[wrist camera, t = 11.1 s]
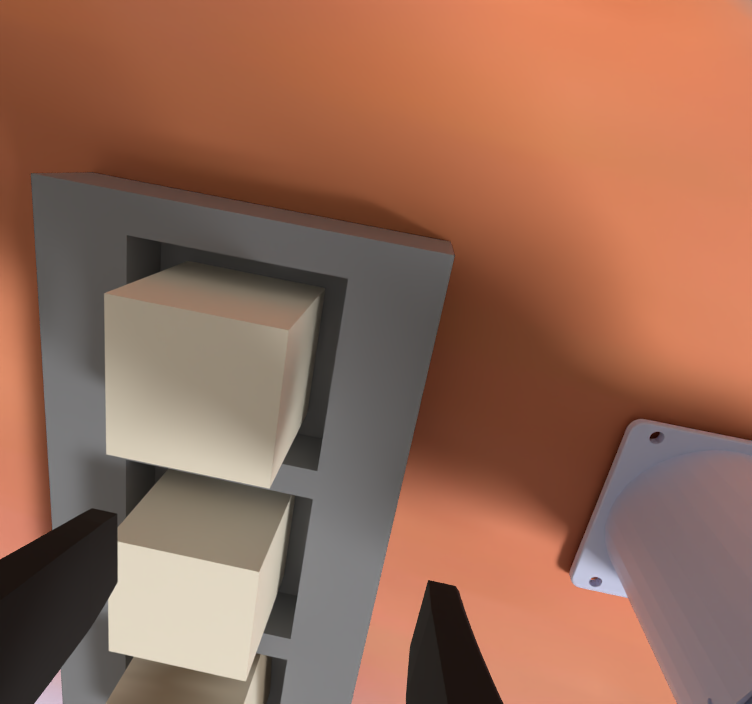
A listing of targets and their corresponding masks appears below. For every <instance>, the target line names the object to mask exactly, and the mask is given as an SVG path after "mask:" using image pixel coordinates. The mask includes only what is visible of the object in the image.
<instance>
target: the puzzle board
mask: <svg viewBox="0 0 752 704" xmlns="http://www.w3.org/2000/svg"><path fill="white" fill-rule="evenodd" d="M31 185H32V201H33V218H34V234H35V251H36V267H37V284H38V301H39V317H40V334H41V350H42V367H43V383H44V400H45V416H46V433H47V449H48V466H49V482H50V499H51V516H52V530H54V529H55V528H57V527H59V526H61V525H62V524H64V523H66V522H68V521H69V520H71V519H73V518H75V517H76V516H78V515H80V514H82V513H84V512H85V511H87V510H89V509H91V508H94V509H98V510H103V511H108V512H112V513H117V523H118V583H117V585H116V586H115V588H114V590H113V592H112V593H111V595H110V597H109V599H108V600H107V602H106V604H105V606H104V607H103V609H102V611H101V612H100V614H99V615H98V617H97V619H96V620H95V622H94V624H93V625H92V627H91V628H90V630H89V631H88V632H87V634H86V635H85V637H84V638H83V639H82V641H81V642H80V643H79V645H78V646H77V647H76V649H75V650H74V651H73V653H72V654H71V655H70V657H69V658H68V659H67V661H66V662H65V663H64V665H63V666H62V667H61V681H62V698H63V704H105V703H106V702H107V700H108V698H109V697H110V695H111V694H112V692H113V690H114V689H115V687H116V685H117V684H118V682H119V680H120V679H121V677H122V675H123V674H124V672H125V670H126V669H127V667H128V665H129V664H130V662H131V660H132V659H133V657H138V658H143V659H147V660H152V661H156V662H161V663H165V664H170V665H174V666H179V667H183V668H188V669H192V670H196V671H201V672H205V673H210V674H214V675H219V676H223V677H228V678H232V679H237V680H241V681H246V680H247V677H248V674H249V671H250V669H251V666H252V663H253V660H254V657H255V655H256V653H258V654H262V655H267V656H271V657H272V665H271V683H270V693H269V697H268V700H267V703H266V704H351V702H352V698H353V693H354V689H355V685H356V680H357V676H358V672H359V667H360V663H361V659H362V655H363V650H364V646H365V642H366V637H367V633H368V629H369V624H370V620H371V616H372V611H373V607H374V603H375V598H376V594H377V590H378V585H379V581H380V577H381V572H382V568H383V564H384V559H385V555H386V551H387V546H388V542H389V538H390V533H391V529H392V525H393V520H394V516H395V512H396V508H397V503H398V499H399V495H400V490H401V486H402V482H403V477H404V473H405V469H406V464H407V460H408V456H409V451H410V447H411V443H412V438H413V434H414V430H415V425H416V421H417V417H418V412H419V408H420V404H421V399H422V395H423V391H424V386H425V382H426V378H427V373H428V369H429V365H430V360H431V356H432V352H433V347H434V343H435V339H436V335H437V330H438V326H439V322H440V317H441V313H442V309H443V304H444V300H445V296H446V291H447V287H448V283H449V278H450V274H451V270H452V265H453V261H454V257H455V254H454V251H453V248H452V244H451V242H450V241H445V240H440V239H434V238H429V237H424V236H419V235H414V234H408V233H403V232H398V231H393V230H388V229H383V228H377V227H372V226H367V225H362V224H357V223H352V222H346V221H341V220H336V219H331V218H326V217H321V216H315V215H310V214H305V213H300V212H295V211H290V210H284V209H279V208H274V207H269V206H264V205H259V204H253V203H248V202H243V201H238V200H233V199H227V198H222V197H217V196H212V195H207V194H202V193H196V192H191V191H186V190H181V189H176V188H171V187H165V186H160V185H155V184H150V183H145V182H140V181H134V180H129V179H124V178H119V177H114V176H109V175H103V174H98V173H93V172H80V173H31Z"/></svg>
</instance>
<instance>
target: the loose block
mask: <svg viewBox="0 0 752 704" xmlns="http://www.w3.org/2000/svg"><path fill="white" fill-rule="evenodd" d="M271 665H272V657H271V656H267V655H262V654H258V653H256V655H255V657H254V660H253V663H252V666H251V669H250V671H249V674H248V677H247V680H246V681H241V680H237V679H232V678H228V677H223V676H219V675H214V674H210V673H205V672H201V671H196V670H192V669H188V668H183V667H179V666H174V665H170V664H165V663H161V662H156V661H152V660H147V659H143V658H138V657H133V659H132V660H131V662H130V664H129V665H128V667H127V669H126V670H125V672H124V674H123V675H122V677H121V679H120V680H119V682H118V684H117V685H116V687H115V689H114V690H113V692H112V694H111V695H110V697H109V698H108V700H107V702H106V703H105V704H266V703H267V700H268V697H269V693H270V683H271Z"/></svg>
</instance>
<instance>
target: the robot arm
mask: <svg viewBox="0 0 752 704" xmlns="http://www.w3.org/2000/svg"><path fill="white" fill-rule="evenodd" d="M654 432H660V434H659V436H658V437H657V438H654V439H650V436H651V434H652V433H654ZM569 575H570V578H571V581H572V583H573V584H574V585H575V586H577V587H579V588H584V589H589V590H593V591H598V592H603V593H607V594H612V595H617V596H621V597H626V598H628V599H629V601H630V603H631V605H632V607H633V609H634V612H635V614H636V616H637V618H638V620H639V622H640V625H641V627H642V629H643V631H644V633H645V635H646V638H647V640H648V642H649V644H650V646H651V648H652V650H653V653H654V655H655V657H656V659H657V661H658V663H659V666H660V668H661V670H662V672H663V674H664V676H665V679H666V681H667V683H668V685H669V687H670V689H671V691H672V694H673V696H674V698H675V700H676V702H677V704H752V441H751V440H746V439H741V438H736V437H731V436H726V435H721V434H716V433H711V432H706V431H701V430H696V429H691V428H686V427H681V426H676V425H671V424H667V423H662V422H657V421H652V420H647V419H637V420H634V421H633V422H631V423H630V424H629V425H628V427H627V429H626V431H625V434H624V436H623V439H622V441H621V444H620V446H619V449H618V451H617V454H616V456H615V459H614V461H613V464H612V466H611V469H610V471H609V474H608V476H607V479H606V481H605V484H604V486H603V489H602V491H601V494H600V496H599V499H598V501H597V504H596V506H595V509H594V511H593V514H592V516H591V519H590V521H589V524H588V526H587V529H586V531H585V534H584V536H583V539H582V541H581V544H580V546H579V549H578V551H577V554H576V556H575V559H574V561H573V564H572V566H571V569H570V573H569ZM593 577H598V578H597V579H595V580H590V579H591V578H593ZM117 583H118V523H117V513H112V512H108V511H103V510H98V509H94V508H91V509H89V510H87V511H85V512H84V513H82V514H80V515H78V516H76V517H75V518H73V519H71V520H69V521H68V522H66V523H64V524H62V525H61V526H59V527H57V528H55V529H54V530H52V531H50V532H48V533H47V534H45V535H43V536H41V537H40V538H38V539H36V540H34V541H33V542H31V543H29V544H27V545H25V546H24V547H22V548H20V549H18V550H16V551H15V552H13V553H11V554H9V555H7V556H6V557H4V558H2V559H0V704H34V703H35V702H36V700H37V699H38V698H39V696H40V695H41V694H42V692H43V691H44V690H45V689H46V687H47V686H48V685H49V683H50V682H51V681H52V679H53V678H54V677H55V675H56V674H57V673H58V671H59V670H60V669H61V667H62V666H63V665H64V663H65V662H66V661H67V659H68V658H69V657H70V655H71V654H72V653H73V651H74V650H75V649H76V647H77V646H78V645H79V643H80V642H81V641H82V639H83V638H84V637H85V635H86V634H87V632H88V631H89V630H90V628H91V627H92V625H93V624H94V622H95V620H96V619H97V617H98V615H99V614H100V612H101V611H102V609H103V607H104V606H105V604H106V602H107V600H108V599H109V597H110V595H111V593H112V592H113V590H114V588H115V586H116V585H117ZM406 704H503V702H502V700H501V698H500V695H499V693H498V691H497V689H496V687H495V684H494V682H493V680H492V678H491V675H490V673H489V671H488V668H487V666H486V664H485V661H484V659H483V657H482V654H481V652H480V649H479V647H478V644H477V642H476V639H475V637H474V634H473V631H472V629H471V626H470V623H469V621H468V618H467V615H466V612H465V609H464V606H463V603H462V600H461V597H460V593H459V591H458V589H457V588H456V586H453V585H448V584H444V583H439V582H434V581H430V580H428V583H427V587H426V591H425V594H424V598H423V601H422V605H421V609H420V612H419V616H418V620H417V623H416V627H415V630H414V634H413V638H412V641H411V645H410V654H409V665H408V677H407V690H406Z"/></svg>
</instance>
